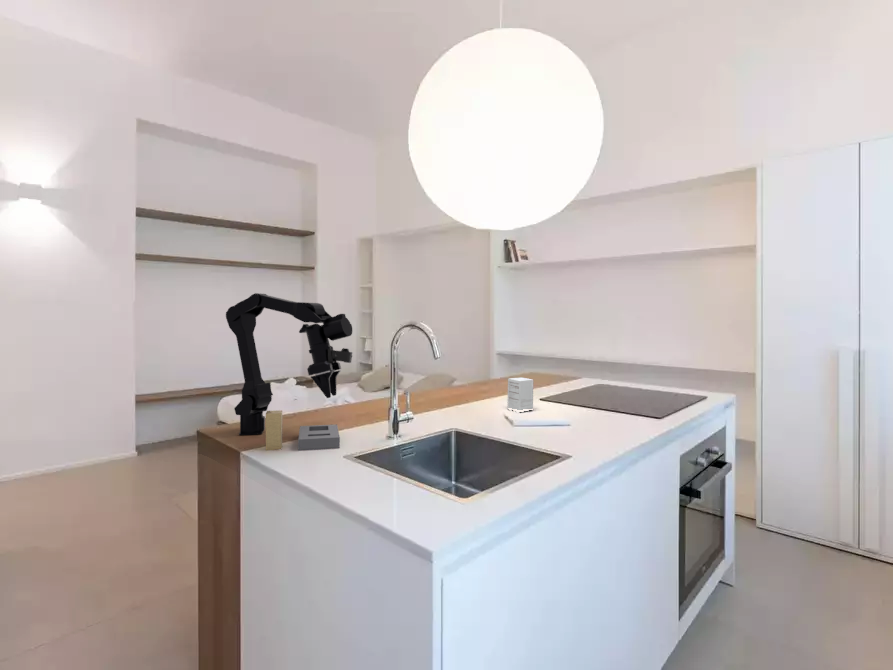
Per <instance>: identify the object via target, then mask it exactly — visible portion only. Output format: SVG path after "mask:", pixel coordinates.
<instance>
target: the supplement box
mask: <svg viewBox="0 0 893 670" xmlns="http://www.w3.org/2000/svg"><path fill="white" fill-rule="evenodd" d="M508 408H512V409H517V410H523V409H532V408H533V409H534V379H531V378H528V377H527V378H526V377H511V378H507V409H508Z"/></svg>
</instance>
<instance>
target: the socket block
mask: <svg viewBox="0 0 893 670" xmlns="http://www.w3.org/2000/svg"><path fill="white" fill-rule="evenodd" d="M340 439H341V437H340V432H339V427H338V424H320V425H319V424H318V425H299V431H298V440H297V441H298V443H297V444H298V447H297V448H298V451H309V450H310V451H311V450H313V449H314V450H325V449H326V450H327V449H328V448H332V449H340V447H341V445H340V443H341V440H340ZM328 450H329V449H328Z"/></svg>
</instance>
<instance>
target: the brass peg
mask: <svg viewBox="0 0 893 670" xmlns="http://www.w3.org/2000/svg"><path fill="white" fill-rule="evenodd" d="M265 412H266V413H265V451H275V450H274V449H281V448H283V410H280V409H279V410H267V411H265ZM281 450H282V449H281Z"/></svg>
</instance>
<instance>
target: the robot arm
mask: <svg viewBox="0 0 893 670" xmlns="http://www.w3.org/2000/svg"><path fill="white" fill-rule="evenodd" d="M264 309H268V310H270V311H271V310H272V311H275V312H281V313H284V314H288V315H291V316H292V317H293V318H295V319H297V320H299V321H301V322H303V323H305V324H302V326H301V328H300V329H299V331H298V333H299V334H306V337H307V342H308V345H309V350H308V353H309V354H311V358H312V362H313V363H312V364H310V365H309V366H308V367H307V368H306V369H307V374H308V376H310V378H311V379H312V380H313V382H314V383H315V384H316V386H317V387H318V388H319V390H320V392H322V394H323V395H324V396H325V397H326V399H329V398H330V399H331V397H332V396H333V397H334V396H336V395H337V377H338V375H339V374H340V373H341V370H342V367H341V362H343V363H349V364H352V357H353V352H352V351H350V350H349V348H345V347H343V348H342V349H340V350H334V347H333V345H331V344H330V343H331V342H330V341H332V342H334V341H338V340H340V339H344V338H348V337H351V336H352V335H353V325H352V323H351V322H350V320H349V319H348V318H347V316H346V314H345V313H339V314H337V315H335V316H332V315H330V314H329V313H328V312H327V311H326V310H325V307H324V305H323V304H322V303H319V302H301V301H299V302H297V301H293V300H290V299H285V298H280V297H277V296H272V295H268V294H266V293H257V292H254V293H253V294H251V295H249V297H248V298H246V299H244V300H241V301H240V302H238V303H235V305H232V306H230V307H229V308H228V309H227V310H226V312H225V319H226V322H227V325H228V328H229V329H230V330H231V332H232V333H233V334H234V335H235V337H236V343H237V346H238V347H237V348H238V353H239V357H240V364H241V368H242V374H243V379H244V383H243V386H242V389H241V400H240V401H239V402H238V403H237V404H236V406H235V407H234V409H233V410H234V412H235V415H236V416H239V433H238V436H247V435H248V436H249V435H250V436H251V435H262V434H263V433H264V431H266V415H265V416H264V412H267V411H268V408H269V405H270V403H271V402H272V399H273V397H272V396H274V394H273V392H272V385H271V383H270V382H266V381H265V380H264V379H263V378H262V373H261V367H260V363H259V362H260V361H259V357H258V352H257V347H256V341H255V336H254V332H255V329H256V325H257V317H258V316H260V315H261V314H262V312H263V311H264ZM308 323H313V324H310V325H309V324H308ZM320 324H321V325H320Z"/></svg>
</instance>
